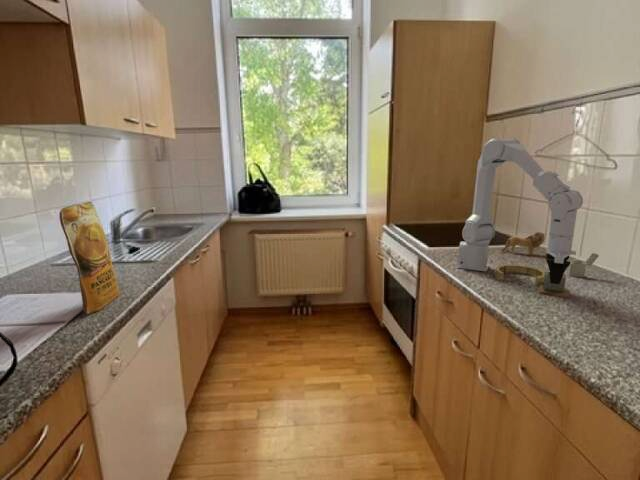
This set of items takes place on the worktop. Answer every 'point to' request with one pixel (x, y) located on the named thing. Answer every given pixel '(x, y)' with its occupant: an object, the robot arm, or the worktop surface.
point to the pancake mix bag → (90, 255)
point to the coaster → (553, 292)
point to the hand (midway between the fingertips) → (554, 281)
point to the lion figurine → (525, 242)
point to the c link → (550, 286)
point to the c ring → (520, 269)
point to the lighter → (581, 266)
